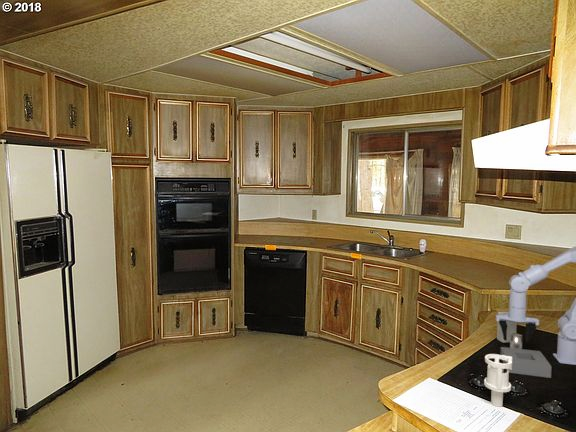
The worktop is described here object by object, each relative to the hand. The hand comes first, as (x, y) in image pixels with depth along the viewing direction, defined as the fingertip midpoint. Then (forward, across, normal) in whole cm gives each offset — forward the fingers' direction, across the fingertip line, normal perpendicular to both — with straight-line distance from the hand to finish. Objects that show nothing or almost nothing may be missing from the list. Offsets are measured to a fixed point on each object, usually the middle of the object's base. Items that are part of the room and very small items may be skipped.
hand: (515, 340), depth 154 cm
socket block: (+5, 0, +13) cm, 14 cm away
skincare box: (+5, +1, -12) cm, 13 cm away
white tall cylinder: (+5, +14, +43) cm, 45 cm away
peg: (+5, 0, 0) cm, 5 cm away
